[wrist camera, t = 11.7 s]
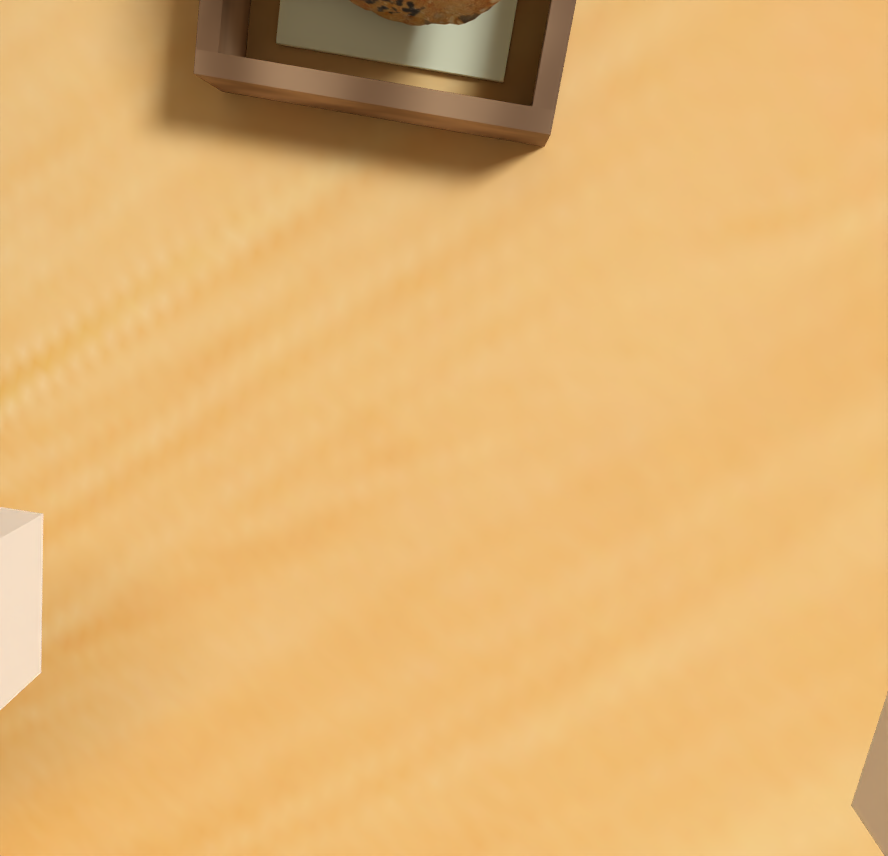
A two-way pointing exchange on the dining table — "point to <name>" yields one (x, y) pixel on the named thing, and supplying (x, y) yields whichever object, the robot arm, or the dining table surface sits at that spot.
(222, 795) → the dining table surface
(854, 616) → the dining table surface
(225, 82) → the brown wooden tray
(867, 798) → the robot arm
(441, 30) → the pad
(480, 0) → the rock
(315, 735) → the dining table surface
